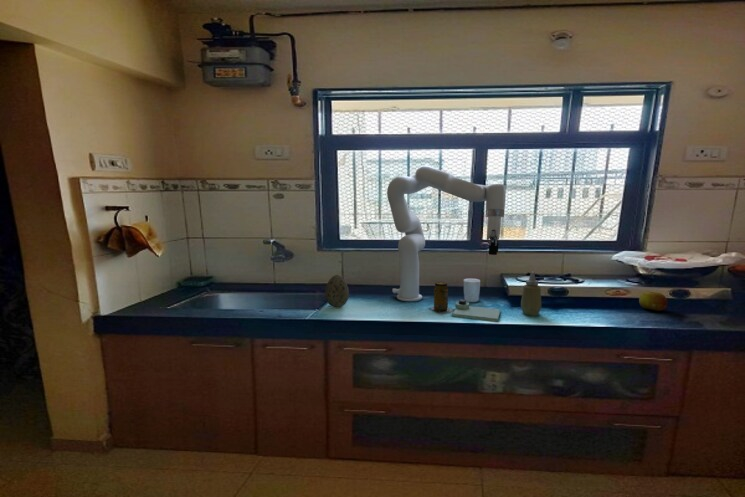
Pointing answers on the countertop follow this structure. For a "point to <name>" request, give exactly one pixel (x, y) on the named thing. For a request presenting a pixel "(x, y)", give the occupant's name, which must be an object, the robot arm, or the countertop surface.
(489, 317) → the scale
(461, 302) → the tare button
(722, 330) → the countertop surface
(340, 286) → the decorative egg
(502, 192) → the robot arm
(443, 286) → the condiment
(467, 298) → the white cup
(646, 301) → the fruit
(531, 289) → the squeeze bottle
